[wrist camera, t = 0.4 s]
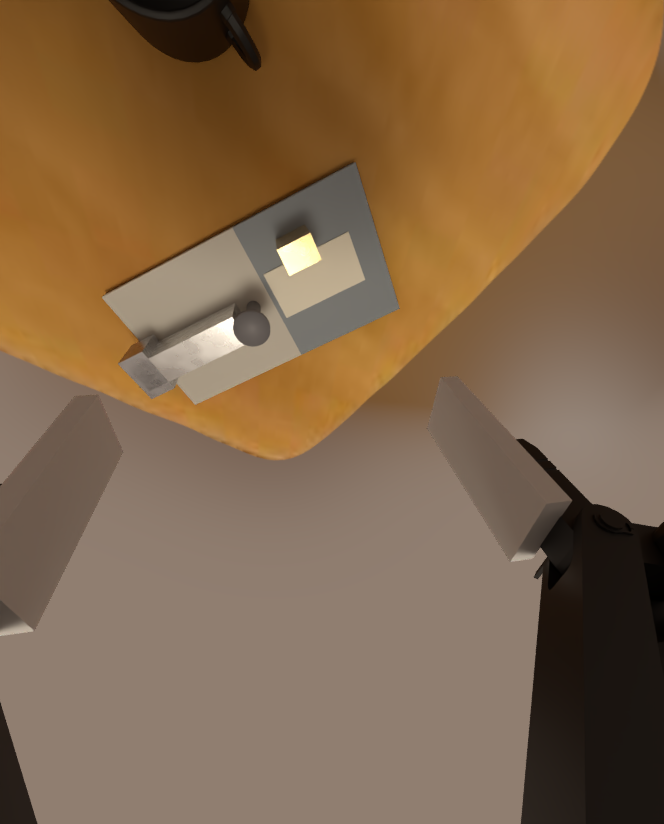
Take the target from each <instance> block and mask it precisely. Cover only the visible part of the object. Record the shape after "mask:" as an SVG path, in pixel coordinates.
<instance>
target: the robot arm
mask: <svg viewBox="0 0 664 824" xmlns="http://www.w3.org/2000/svg"><path fill="white" fill-rule="evenodd" d="M427 429H428V431H429V432H430V434H431V436H432V437H433V439H434V440H435V442H436V443H437V445H438V447H439V448H440V450H441V451H442V453H443V455H444V456H445V458H446V460H447V461H448V463H449V464H450V466H451V468H452V469H453V471H454V472H455V474H456V476H457V477H458V479H459V480H460V482H461V484H462V485H463V487H464V489H465V490H466V492H467V493H468V495H469V496H470V498H471V500H472V501H473V503H474V505H475V506H476V508H477V509H478V511H479V513H480V514H481V516H482V517H483V519H484V520H485V522H486V524H487V525H488V527H489V529H490V530H491V532H492V533H493V535H494V536H495V538H496V540H497V541H498V543H499V545H500V546H501V548H502V549H503V551H504V552H505V554H506V556H507V557H508V559H509V561H510V562H513V561H519V560H526V559H532V558H533V557H534V555H535V554H536V553H537V551H538V550H539V548H540V547H541V548H542V550H543V551H544V552H545V554H546V555H547V558H546V559H545V561H544V562H543V563H542V565H541V566H540V567H539V569H538V570H537V572H536V574H535V576H534V578H536V579H538V578H539V577H540V576H541V574H542V573H543V577H542V589H541V600H540V612H539V622H538V634H537V645H536V657H535V668H534V680H533V692H532V704H531V714H530V727H529V738H528V749H527V760H526V771H525V783H524V794H523V806H522V817H521V824H664V522H663V523H662V524H661V525H660V526H659V527H652V526H646V525H640V524H634V523H631V522H630V521H629V520H628V519H627V518H626V517H624V516H623V515H622V514H620V513H619V512H617V511H615V510H612V509H611V508H608V507H606V506H602V505H598V504H592V503H590V502H589V501H588V500H587V499H586V498H585V497H584V496H583V494H582V493H580V491H579V490H578V489H577V488H576V487H575V486H574V485H573V484H572V483H571V482H570V481H569V480H568V479H567V478H566V477H565V476H564V475H563V474H562V473H561V472H560V471H559V470H557V469H556V467H555V466H554V465H553V464H552V463H551V462H550V461H548V458H546V456H545V455H543V453H542V452H541V451H540V450H539V449H538V448H536V447H535V446H533V445H532V444H530V443H529V442H527V441H525V440H524V439H515V438H514V437H513V436H512V435H511V434H510V433H509V431H508V430H507V429H506V428H505V427H504V426H503V425H502V424H501V423H500V422H499V421H498V420H497V419H496V417H495V416H494V415H493V414H492V413H491V412H490V411H489V410H488V409H487V408H486V407H485V406H484V404H483V403H482V402H481V401H480V400H479V399H478V398H477V397H476V396H475V395H474V394H473V393H472V391H471V390H469V388H468V387H467V386H466V385H465V384H464V383H463V382H462V381H461V380H460V379H459V377H457V376H456V377H441V378H440V381H439V385H438V389H437V393H436V397H435V401H434V405H433V409H432V413H431V416H430V420H429V424H428V428H427ZM122 453H123V450H122V448H121V445H120V443H119V441H118V439H117V436H116V434H115V432H114V429H113V427H112V425H111V422H110V420H109V418H108V416H107V413H106V411H105V409H104V406H103V404H102V402H101V399H100V397H99V395H86V396H75V397H74V398H73V399H72V400H71V402H70V403H69V404H68V405H67V406H66V407H65V409H64V410H63V411H62V412H61V413H60V415H59V416H58V417H57V418H56V420H55V421H54V422H53V423H52V425H51V426H50V427H49V428H48V429H47V430H46V432H45V433H44V434H43V435H42V436H41V438H40V439H39V440H38V441H37V442H36V444H35V445H34V446H33V447H32V449H31V450H30V451H29V452H28V453H27V455H26V456H25V457H24V458H23V459H22V461H21V462H20V463H19V464H18V465H17V467H16V468H15V469H14V470H13V472H12V473H11V474H10V475H9V476H8V478H7V479H6V480H5V481H4V482H3V484H0V636H3V635H10V634H17V633H24V632H31V631H35V629H36V627H37V625H38V623H39V621H40V619H41V617H42V615H43V613H44V611H45V609H46V607H47V605H48V603H49V601H50V599H51V597H52V594H53V593H54V591H55V589H56V587H57V585H58V583H59V581H60V578H61V576H62V574H63V572H64V570H65V568H66V566H67V564H68V562H69V560H70V558H71V556H72V554H73V552H74V550H75V548H76V546H77V544H78V542H79V540H80V538H81V536H82V534H83V532H84V530H85V528H86V526H87V524H88V522H89V520H90V518H91V516H92V514H93V512H94V510H95V508H96V506H97V504H98V502H99V500H100V498H101V495H102V494H103V491H104V490H105V488H106V486H107V483H108V482H109V480H110V478H111V476H112V473H113V471H114V470H115V467H116V465H117V463H118V461H119V459H120V457H121V455H122ZM0 824H37V821H36V818H35V815H34V811H33V808H32V805H31V802H30V798H29V795H28V792H27V788H26V785H25V782H24V779H23V775H22V772H21V769H20V765H19V762H18V759H17V756H16V752H15V749H14V746H13V742H12V739H11V736H10V733H9V729H8V726H7V723H6V720H5V716H4V713H3V710H2V706H1V703H0Z"/></svg>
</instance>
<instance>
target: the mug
mask: <svg viewBox="0 0 664 824" xmlns="http://www.w3.org/2000/svg"><path fill="white" fill-rule="evenodd" d="M109 1H110V2H111V3H112V4H113V5H114V7H115V8H116V9H117V10H118V11H119V12H120V13H121V14H122V15H123V16H124V17H125V18H126V19H127V21H128V22H129V23H130V24H131V25H132V26H133V27H134V28H135V29H136V30H137V31H138V32H139V33H140V35H141V36H142V37H143V38H145V39H146V40H147V41H148V42H149V43H150V44H151V45H153V46H154V47H155V48H157V49H158V50H160V51H161V52H163V53H165V54H166V55H169V56H171V57H173V58H175V59H178V60H182V61H186V62H203V61H208V60H211V59H213V58H216V57H218V56H219V55H221V54H222V53H223V52H225V51H226V50H227V49H228V48H229V47H230V46H231V45H233V47H234V48H235V49H236V51H237V52H238V54H239V55H240V56H241V58H242V59H243V60H244V62H245V63H246V64H247V65H248V66H249V67H250V68H252V69H253V70H255V71H257V70H258V69H259V68H260V67H261V57H260V54H259V52H258V50H257V48H256V46H255V44H254V42H253V40H252V38H251V36H250V35H249V33H248V31H247V29H246V28H245V26H244V21H245V18H246V14H247V10H248V6H249V0H109Z"/></svg>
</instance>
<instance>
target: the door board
mask: <svg viewBox="0 0 664 824" xmlns="http://www.w3.org/2000/svg"><path fill="white" fill-rule="evenodd" d="M304 224H305V226H306V227H307V229H308V230H309V231H310V233H311V235H312V238H313V240H314V243H315V245H316V247H317V250H318V252H319V255H320V257H321V259H322V260H320V261H318V262H316V263H314V264H312V265H310V266H308V267H306V268H304V269H302V270H300V271H298V272H296V273H294V274H292V275H290V276H289V274H288V272H287V270H286V268H285V266H284V264H283V262H282V259H281V257H280V255H279V253H278V251H277V247H276V241H275V239H277V238H279V237H281V236H283V235H285V234H287V233H289V232H291V231H293V230H295V229H297V228H299V227H300V226H302V225H304ZM102 298H103V299H104V301H105V302H106V303H107V304H108V305H109V306H110V307H111V309H112V310H113V311H114V312H115V313H116V314H117V315H118V317H119V318H120V319H121V320H122V321H123V322H124V323H125V325H126V326H127V327H128V328H129V329H130V330H131V332H132V333H133V334H134V335H135V336H136V337H137V338H138V340H139V341H141V340H143V339H145V338H147V337H149V336H151V335H153V334H154V335H155V336H156V338H157V339H158V340H159V341H160V340H162V339H164V338H166V337H168V336H170V335H172V334H174V333H176V332H178V331H180V330H182V329H184V328H186V327H188V326H190V325H192V324H194V323H196V322H198V321H200V320H202V319H204V318H206V317H208V316H210V315H212V314H214V313H216V312H218V311H220V310H222V309H224V308H226V307H228V306H230V305H232V304H234V303H236V305H237V306H238V308H239V309H240V311H241V313H239V314H238V315H237V317H236V318H235V320H234V325H233V332H234V335H235V337H236V338H237V339H238V341H240V342H241V343H242V344H244V346H242V347H240V348H238V349H236V350H234V351H232V352H230V353H228V354H225V355H223V356H221V357H219V358H217V359H215V360H213V361H211V362H209V363H207V364H205V365H203V366H201V367H199V368H197V369H195V370H192V371H190V372H188V373H186V374H184V375H182V376H180V377H179V378H178V380H177V384H178V386H179V387H180V388H181V389H182V390H183V391H184V392H185V394H186V395H187V396H188V397H189V398H190V399H191V400H192V402H193V403H194V404H195V405H196V404H198V403H200V402H202V401H204V400H206V399H209V398H211V397H213V396H215V395H217V394H219V393H221V392H223V391H226V390H228V389H230V388H232V387H234V386H236V385H238V384H240V383H242V382H245V381H247V380H249V379H251V378H253V377H255V376H257V375H259V374H262V373H264V372H266V371H268V370H270V369H272V368H274V367H276V366H279V365H281V364H283V363H285V362H287V361H289V360H291V359H293V358H296V357H298V356H300V355H302V354H304V353H306V352H308V351H310V350H313V349H315V348H317V347H319V346H321V345H323V344H325V343H327V342H330V341H332V340H334V339H336V338H338V337H340V336H342V335H344V334H347V333H349V332H351V331H353V330H355V329H357V328H359V327H361V326H364V325H366V324H368V323H370V322H372V321H374V320H376V319H378V318H381V317H383V316H385V315H387V314H389V313H391V312H393V311H395V310H398V309H400V308H399V305H398V302H397V298H396V295H395V292H394V288H393V285H392V282H391V278H390V275H389V272H388V268H387V265H386V262H385V259H384V255H383V252H382V249H381V245H380V242H379V239H378V235H377V232H376V229H375V225H374V222H373V219H372V215H371V212H370V209H369V205H368V202H367V199H366V196H365V192H364V189H363V186H362V182H361V179H360V176H359V172H358V169H357V166H356V162H354V163H351V164H349V165H347V166H345V167H343V168H341V169H340V170H338V171H336V172H334V173H332V174H330V175H328V176H326V177H325V178H323V179H321V180H319V181H317V182H315V183H313V184H311V185H309V186H308V187H306V188H304V189H302V190H300V191H298V192H296V193H294V194H293V195H291V196H289V197H287V198H285V199H283V200H281V201H279V202H277V203H276V204H274V205H272V206H270V207H268V208H266V209H264V210H262V211H261V212H259V213H257V214H255V215H253V216H251V217H249V218H247V219H245V220H244V221H242V222H240V223H238V224H236V225H234V226H232V227H230V228H229V229H227V230H225V231H223V232H221V233H219V234H217V235H215V236H213V237H212V238H210V239H208V240H206V241H204V242H202V243H200V244H198V245H197V246H195V247H193V248H191V249H189V250H187V251H185V252H183V253H181V254H180V255H178V256H176V257H174V258H172V259H170V260H168V261H166V262H165V263H163V264H161V265H159V266H157V267H155V268H153V269H151V270H149V271H148V272H146V273H144V274H142V275H140V276H138V277H136V278H134V279H133V280H131V281H129V282H127V283H125V284H123V285H121V286H119V287H117V288H116V289H114V290H112V291H110V292H108V293H106V294H105V295H104V296H102Z"/></svg>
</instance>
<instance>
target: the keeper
mask: <svg viewBox="0 0 664 824" xmlns="http://www.w3.org/2000/svg"><path fill="white" fill-rule="evenodd" d="M275 241H276V247H277V251H278V253H279V255H280V257H281V259H282V262H283V264H284V266H285V268H286V270H287V272H288V274H289V276H290V275H292V274H294V273H296V272H298V271H300V270H302V269H304V268H306V267H308V266H310V265H312V264H314V263H316V262H318V261H320V260H322V259H321V257H320V255H319V252H318V250H317V247H316V245H315V243H314V240H313V238H312V235H311V233H310V231H309V230H308V229H307V227H306V226H305V224H304V225H302V226H300V227H299V228H297V229H295V230H293V231H291V232H289V233H287V234H285V235H283V236H281V237H279V238H277V239H275Z"/></svg>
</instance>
